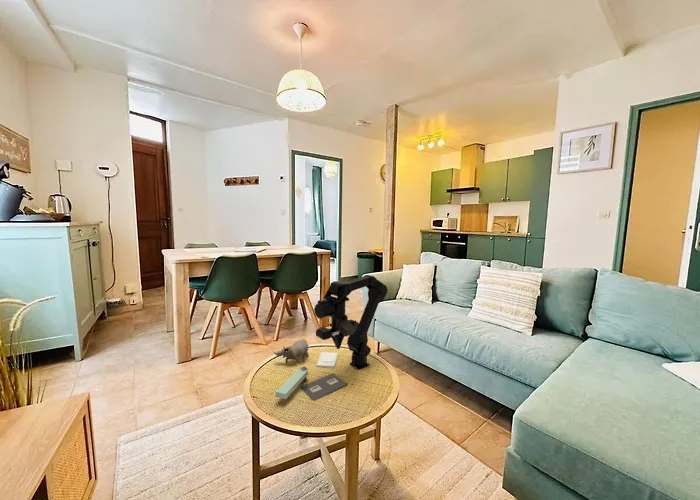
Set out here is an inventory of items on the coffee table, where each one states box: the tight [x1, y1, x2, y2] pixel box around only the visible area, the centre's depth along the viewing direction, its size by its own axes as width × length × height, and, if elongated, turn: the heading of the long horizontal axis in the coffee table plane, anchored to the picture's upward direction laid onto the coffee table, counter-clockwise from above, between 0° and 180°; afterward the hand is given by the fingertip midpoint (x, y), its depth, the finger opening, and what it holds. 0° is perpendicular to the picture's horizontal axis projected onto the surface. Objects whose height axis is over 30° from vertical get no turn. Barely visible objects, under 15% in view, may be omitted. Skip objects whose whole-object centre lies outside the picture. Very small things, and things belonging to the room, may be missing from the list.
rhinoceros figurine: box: [272, 339, 309, 367], centre depth 133 cm, size 8×14×15 cm
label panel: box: [299, 373, 349, 402], centre depth 116 cm, size 16×15×2 cm
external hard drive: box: [315, 351, 339, 369], centre depth 134 cm, size 2×8×12 cm
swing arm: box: [275, 366, 309, 400], centre depth 111 cm, size 18×4×2 cm, turn 161°
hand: (338, 348), depth 121 cm, fingers closed
